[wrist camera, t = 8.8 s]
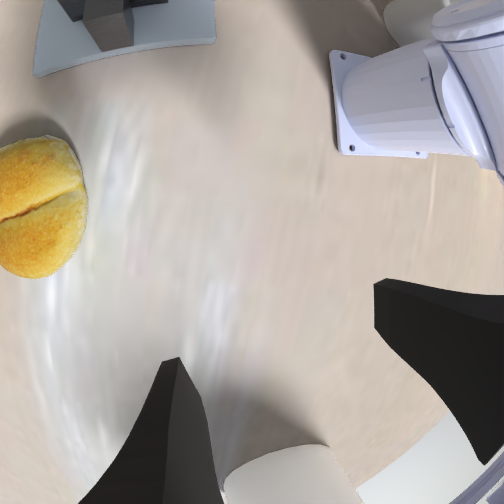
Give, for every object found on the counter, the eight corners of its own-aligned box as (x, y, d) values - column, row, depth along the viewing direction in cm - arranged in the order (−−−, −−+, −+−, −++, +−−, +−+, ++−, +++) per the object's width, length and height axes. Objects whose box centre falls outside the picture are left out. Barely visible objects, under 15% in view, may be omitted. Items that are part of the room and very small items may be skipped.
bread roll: (12, 276, 15) (-14, 299, 12) (-10, 157, 12) (-42, 159, 9) (104, 259, 17) (88, 284, 13) (84, 124, 14) (61, 115, 10)
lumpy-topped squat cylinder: (370, 10, 16) (440, -25, 8) (426, -14, 15) (479, -33, 7) (433, 104, 20) (509, 101, 12) (473, 60, 19) (528, 55, 11)
